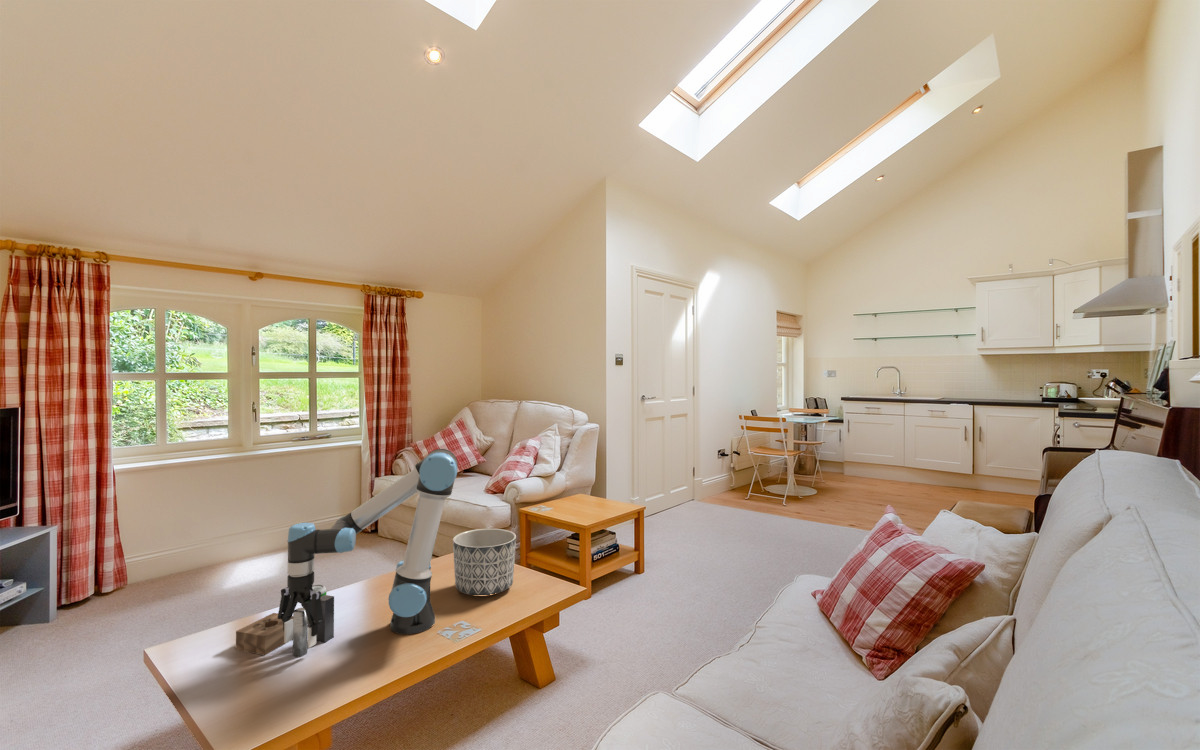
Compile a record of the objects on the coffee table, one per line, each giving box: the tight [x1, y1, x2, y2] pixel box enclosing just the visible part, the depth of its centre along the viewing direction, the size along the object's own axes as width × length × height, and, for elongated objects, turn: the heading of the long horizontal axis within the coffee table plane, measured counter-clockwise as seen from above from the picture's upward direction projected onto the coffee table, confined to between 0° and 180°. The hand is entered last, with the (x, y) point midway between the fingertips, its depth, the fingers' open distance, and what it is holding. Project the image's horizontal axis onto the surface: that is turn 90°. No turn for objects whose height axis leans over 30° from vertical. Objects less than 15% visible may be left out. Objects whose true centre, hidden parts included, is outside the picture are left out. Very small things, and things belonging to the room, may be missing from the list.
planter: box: [452, 528, 517, 596], centre depth 223 cm, size 26×26×22 cm
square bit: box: [316, 594, 335, 644], centre depth 180 cm, size 4×4×14 cm
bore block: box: [235, 612, 293, 656], centre depth 177 cm, size 12×14×6 cm
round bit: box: [292, 607, 309, 658], centre depth 170 cm, size 4×4×14 cm
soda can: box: [302, 584, 327, 625], centre depth 193 cm, size 8×8×12 cm
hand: (300, 643), depth 170 cm, fingers open, 9 cm apart
